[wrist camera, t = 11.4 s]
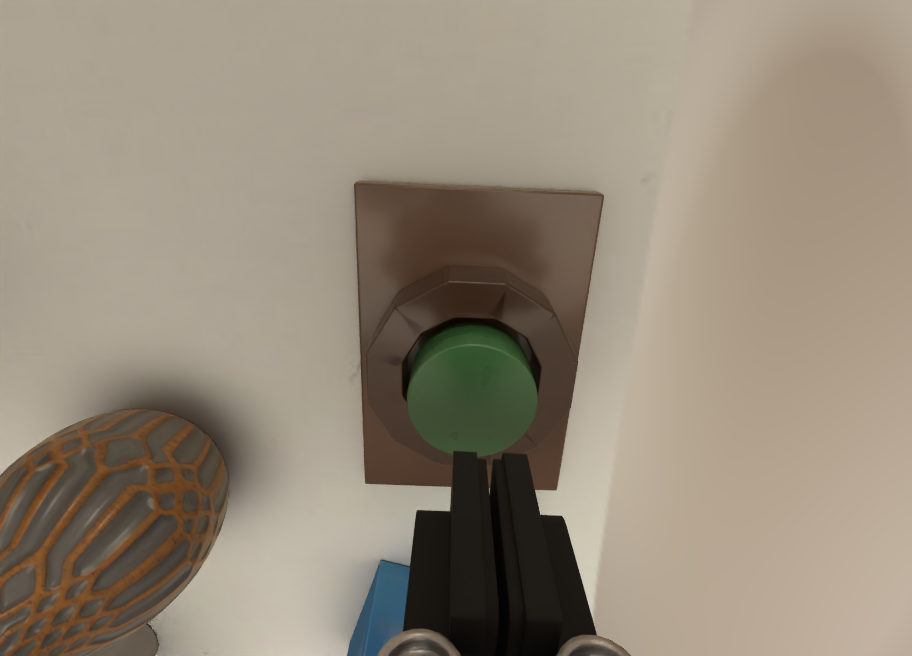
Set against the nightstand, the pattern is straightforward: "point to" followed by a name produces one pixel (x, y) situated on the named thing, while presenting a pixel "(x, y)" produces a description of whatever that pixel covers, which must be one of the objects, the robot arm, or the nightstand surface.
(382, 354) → the button block
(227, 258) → the nightstand surface
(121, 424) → the vase
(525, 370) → the light button
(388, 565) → the perfume bottle
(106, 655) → the cup
